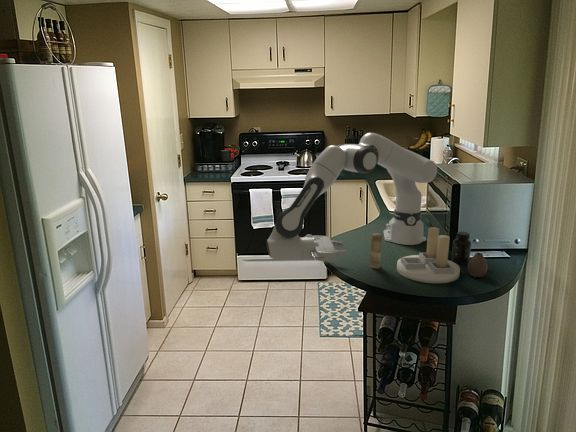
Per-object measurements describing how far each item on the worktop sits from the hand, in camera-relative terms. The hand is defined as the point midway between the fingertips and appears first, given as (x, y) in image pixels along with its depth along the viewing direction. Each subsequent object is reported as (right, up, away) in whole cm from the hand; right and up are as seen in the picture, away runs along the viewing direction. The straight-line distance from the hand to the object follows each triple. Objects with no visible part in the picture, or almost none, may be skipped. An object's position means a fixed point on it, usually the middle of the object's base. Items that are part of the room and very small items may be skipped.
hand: (344, 248), depth 187 cm
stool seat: (+31, -9, -2) cm, 33 cm away
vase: (+49, -10, -5) cm, 50 cm away
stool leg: (+12, -7, +3) cm, 14 cm away
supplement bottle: (+48, -6, +9) cm, 49 cm away
